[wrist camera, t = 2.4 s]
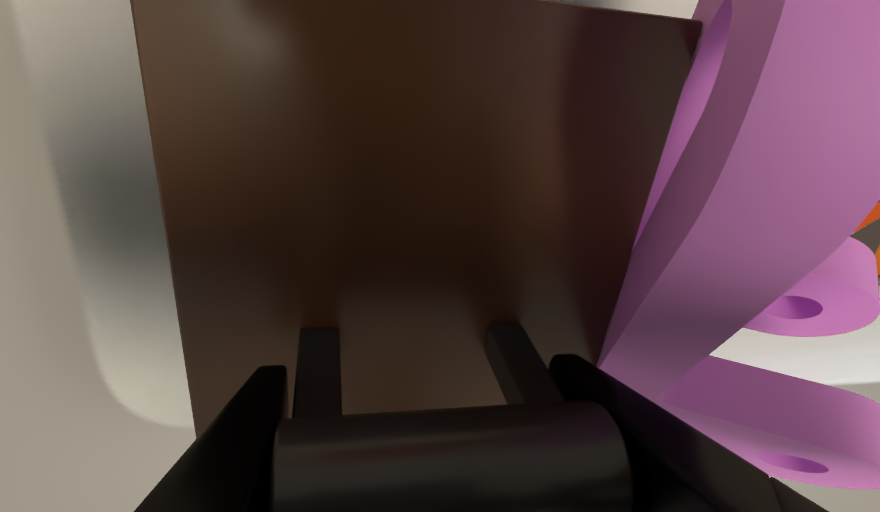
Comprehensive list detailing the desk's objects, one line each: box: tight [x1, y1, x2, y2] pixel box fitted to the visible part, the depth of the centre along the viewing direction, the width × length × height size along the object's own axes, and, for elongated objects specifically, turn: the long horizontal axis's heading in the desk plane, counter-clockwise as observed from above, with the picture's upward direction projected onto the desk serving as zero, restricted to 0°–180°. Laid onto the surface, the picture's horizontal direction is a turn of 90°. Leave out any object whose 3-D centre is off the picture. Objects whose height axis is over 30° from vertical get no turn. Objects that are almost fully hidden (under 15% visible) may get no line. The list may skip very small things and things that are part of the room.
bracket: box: [596, 0, 880, 489], centre depth 9 cm, size 13×6×7 cm
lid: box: [130, 0, 703, 512], centre depth 8 cm, size 10×8×5 cm
